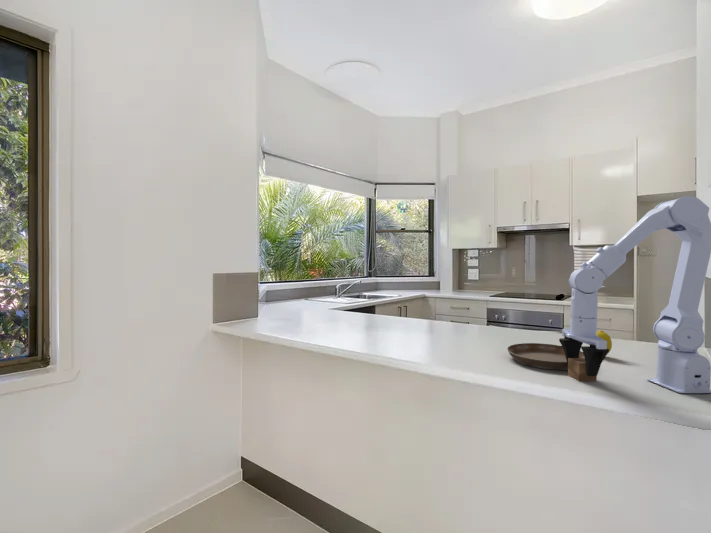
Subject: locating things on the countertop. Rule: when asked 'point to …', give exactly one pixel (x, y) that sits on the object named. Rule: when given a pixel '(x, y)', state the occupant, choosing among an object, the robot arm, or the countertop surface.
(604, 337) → the lemon
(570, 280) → the robot arm
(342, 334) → the countertop surface
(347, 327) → the countertop surface
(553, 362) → the plant saucer
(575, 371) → the walnut block
